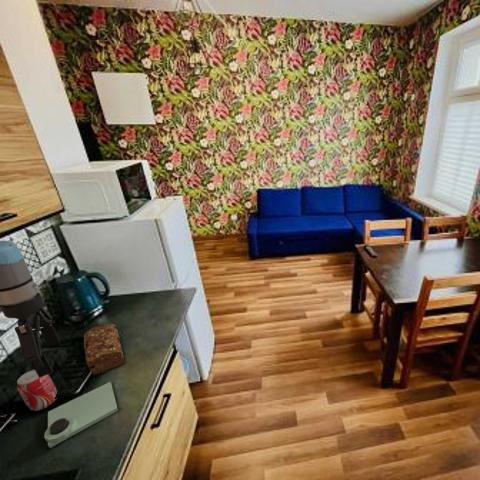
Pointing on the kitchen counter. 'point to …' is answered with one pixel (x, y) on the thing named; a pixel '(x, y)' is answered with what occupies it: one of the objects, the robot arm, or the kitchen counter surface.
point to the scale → (82, 413)
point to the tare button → (59, 426)
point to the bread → (103, 348)
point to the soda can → (36, 390)
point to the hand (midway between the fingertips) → (50, 358)
